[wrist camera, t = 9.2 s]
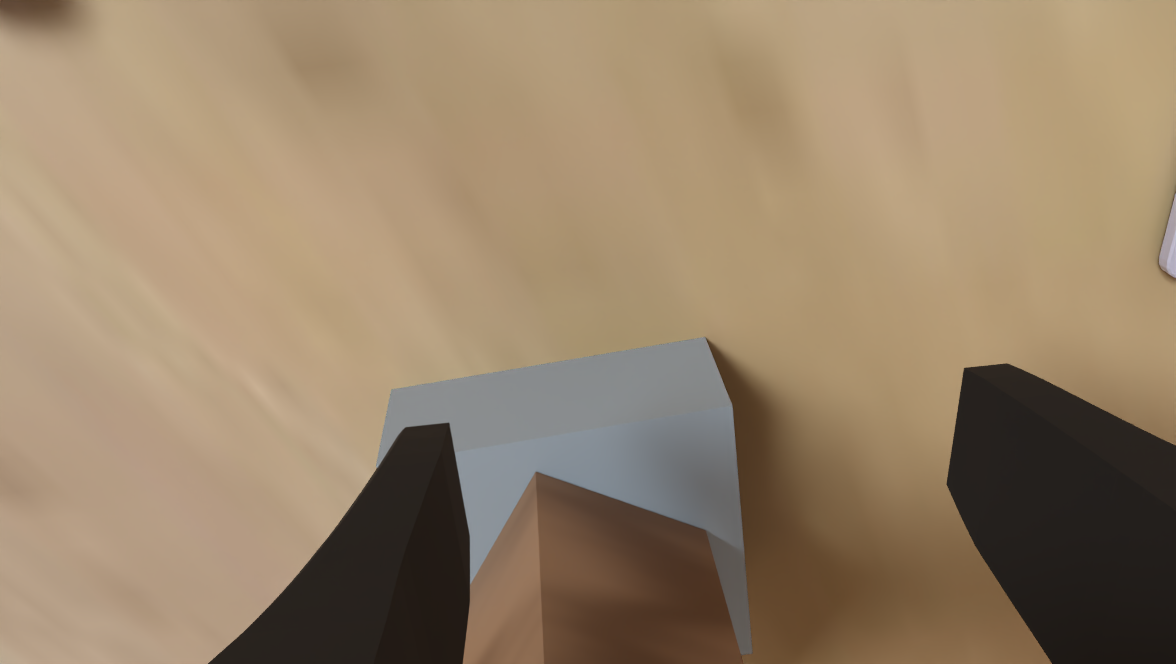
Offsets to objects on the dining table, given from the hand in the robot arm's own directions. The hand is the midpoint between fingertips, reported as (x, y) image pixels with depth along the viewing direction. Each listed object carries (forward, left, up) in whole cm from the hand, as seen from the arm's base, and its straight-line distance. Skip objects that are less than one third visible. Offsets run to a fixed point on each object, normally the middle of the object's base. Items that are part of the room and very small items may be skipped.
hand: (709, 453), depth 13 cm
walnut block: (+2, +8, -6) cm, 10 cm away
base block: (+2, +8, -10) cm, 13 cm away
